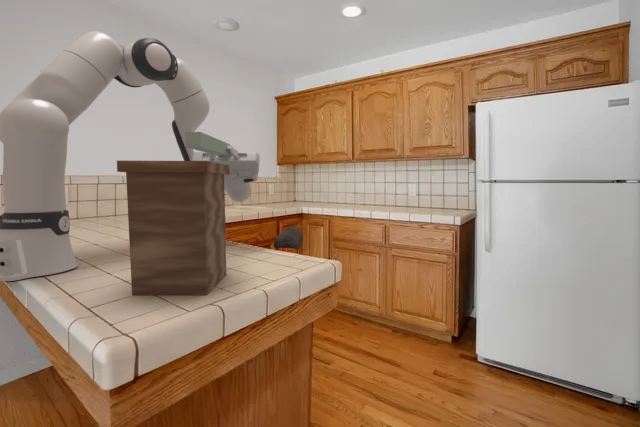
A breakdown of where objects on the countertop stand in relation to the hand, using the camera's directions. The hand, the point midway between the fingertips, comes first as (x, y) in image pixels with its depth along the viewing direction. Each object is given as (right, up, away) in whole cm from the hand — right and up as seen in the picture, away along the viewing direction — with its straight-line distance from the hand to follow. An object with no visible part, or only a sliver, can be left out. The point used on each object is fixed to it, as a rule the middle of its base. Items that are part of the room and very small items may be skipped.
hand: (220, 147), depth 96 cm
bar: (0, -3, -8) cm, 9 cm away
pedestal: (0, -34, -26) cm, 43 cm away
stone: (+19, -31, +13) cm, 38 cm away
